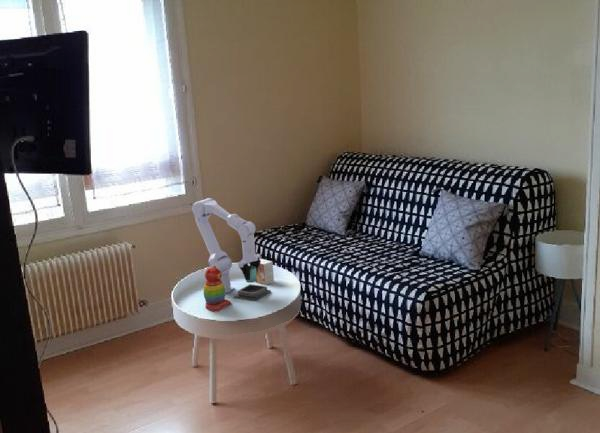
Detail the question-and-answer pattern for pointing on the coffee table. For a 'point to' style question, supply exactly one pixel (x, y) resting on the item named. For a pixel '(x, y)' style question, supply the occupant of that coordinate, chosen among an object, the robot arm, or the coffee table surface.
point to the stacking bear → (214, 290)
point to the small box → (265, 272)
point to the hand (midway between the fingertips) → (251, 277)
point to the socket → (252, 292)
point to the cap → (252, 275)
